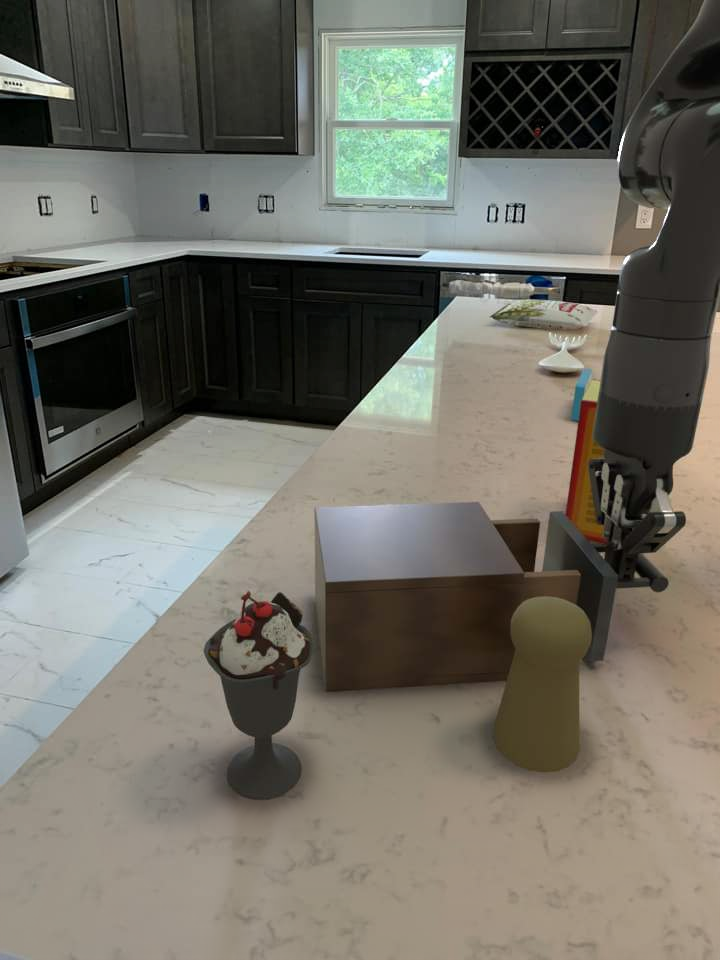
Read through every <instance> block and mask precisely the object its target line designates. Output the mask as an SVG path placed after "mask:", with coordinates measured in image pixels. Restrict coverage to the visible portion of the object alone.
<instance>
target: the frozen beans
mask: <svg viewBox="0 0 720 960" xmlns="http://www.w3.org/2000/svg"><path fill="white" fill-rule="evenodd" d="M598 313H600V310H599V311H598V310H597V309H593V308H592V307H589V306H587V305H583V304H580V303H577V302H576V303H575V302H569V301H560V300H547V299H532V298H531V299H530V298H529V299H528V298H527V299H526V298H525V299H520V300H517V301H513V302H512V303H510V302H509V303H507V304H506V305H504V306H502V307H501V308H500V309H499V310H497V311H495V312H494V313H493V314H491V315H490V316H489V318H492V319H493V320H495V321H497V322H499V323H502V324H507V325H513V326H520V327H525V328H526V327H527V328H534V329H546V330H562V331H572V330H574V331H575V330H578V329H581V328H583V327H587V325H589V323H590V321H591V320H592V319H593V318H594V317H595V316H596V315H597V314H598Z"/></svg>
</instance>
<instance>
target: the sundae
mask: <svg viewBox="0 0 720 960" xmlns="http://www.w3.org/2000/svg"><path fill="white" fill-rule="evenodd" d="M251 595H252V593H251V591H250V590H247V591H246V593H245V594H243V595H242V596H241V597H240V600H242V607H241V611H240V613H239V614H238V615H237V617H236V618H235V619H232V620H231V621H228V622H227V623H225V624H224V625H223V626H221V627H220V628H219V629H218V630H217V631H216V632H214V634H212V636H210V638H209V639H207V641H206V642H205V644H204V648H203V654H204V657H205V659H206V662H207V663H208V664H209V666H210V668H212V669H213V670H214V672H215V673H216V674H217V675H218V676H219V677H220V681H221V686H222V690H223V695H224V699H225V703H226V707H227V710H228V713H229V716H230V718H231V721H232V723H233V725H234V727H235V728H236V729H237V730H238V731H240V732H241V733H243V734H244V735H246V736H249V737H252V738H253V739H254V745H251V746H248V747H246V748H244V749H242V750H240V751H239V752H238V753H236V755H234V757H233V758H232V759H231V761H230V762H229V763H228V766H227V770H226V779H227V783H228V784H229V786H230V788H231V789H232V790H233V791H234V792H236V794H238V795H240V796H242V797H244V798H246V799H247V798H248V799H251V800H260V801H261V800H271V799H274V798H278V797H280V796H282V795H285V794H286V793H288V792H289V791H291V790H292V789H293V788H294V787H295V786H296V785H297V783H298V782H299V780H300V778H301V776H302V769H303V768H302V767H303V766H302V762H301V760H300V757H299V756H298V755H297V753H296V752H294V751H293V749H291V748H289V746H285V745H283V744H280V743H276V742H273V736H274V735H276V734H278V733H279V732H280V731H282V730H283V729H284V728H285V727H287V726H288V725H289V723H290V722H291V721H292V718H293V714H294V710H295V707H296V701H297V694H298V687H299V678H300V674H301V670H302V669H304V668H305V667H306V666H308V664H309V663H310V662H311V659H312V656H313V654H314V638H313V635H312V634H311V632H310V630H308V628H307V627H306V626H304V625H302V624H301V623H302V621H303V614H304V613H303V611H302V610H301V609H300V608H299V607H298V606H297V605H296V604H295V603H294V602H293V601H292V600H291V599H289V598H288V597H287V596H286V595H285V594H284V593H283V592H281V591H279V592H277V593H276V594H275V595H274V597H273V598H272V600H271V601H268V600H267V601H266V600H259V601H257V600H255V599H254V598H252V597H251ZM248 600H250V601H251V602H252V603H249V604H248V605H246V604H247V603H246V602H247V601H248Z"/></svg>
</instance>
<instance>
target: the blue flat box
mask: <svg viewBox="0 0 720 960" xmlns="http://www.w3.org/2000/svg"><path fill="white" fill-rule="evenodd" d="M582 370H583V371H582V372H581V374H580V376H579V377H578V379H577V382H576V383H575V388H574V395H573V402H572V409H571V416H570V421H571V422H572V421H573V422H578V421H579V413H580V406H581V400H582V399H583V397H584V395H585V393H586V392H587V390H588V388H589V386H590V384H591V383H592V381H593V376H594V369H590V368H583V369H582Z"/></svg>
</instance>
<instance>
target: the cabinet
mask: <svg viewBox="0 0 720 960" xmlns="http://www.w3.org/2000/svg"><path fill="white" fill-rule="evenodd" d="M491 520H492V519H491V518H490V517H489V515H488V514H487V512H486V511H485V509H484V508H483V506H482V504H481V503H480V501H464V502H461V501H460V502H459V501H458V502H434V503H406V504H404V503H403V504H377V505H373V504H372V505H349V506H346V505H345V506H322V507H321V506H319V507H318V506H317V507H314V596H315V597H314V603H315V613H316V622H317V629H318V639H319V647H320V656H321V666H322V674H323V683H324V692H325V693H333V692H334V693H336V692H349V691H351V692H352V691H364V690H380V689H382V690H383V689H398V688H409V687H410V688H413V687H415V688H416V687H429V686H444V685H445V686H446V685H458V684H459V685H461V684H475V683H476V684H477V683H490V682H491V683H492V682H493V683H494V682H505V681H506V682H507V678H508V675H509V671H510V668H511V664H512V661H513V657H514V654H515V650H516V648H515V646H514V644H513V643H512V639H511V619H512V617H513V614H514V612H515V611H516V609H517V608H518V607H519V606H520V605H521V601H522V592H523V583H524V574H525V573H524V572H523V570H522V568H521V567H520V565H519V564H518V562H517V561H516V559H515V557H514V556H513V554H512V553H511V551H510V550H509V548H508V547H507V545H506V543H505V542H504V540H503V539H502V537H501V536H500V534H499V533H498V531H497V529H496V528H495V526H494V525H493V523H492V522H491Z"/></svg>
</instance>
